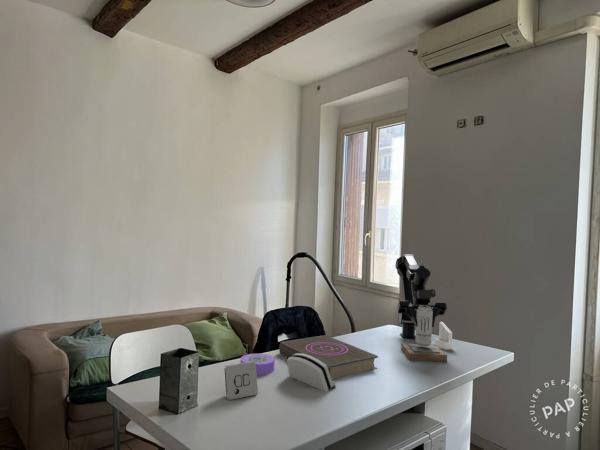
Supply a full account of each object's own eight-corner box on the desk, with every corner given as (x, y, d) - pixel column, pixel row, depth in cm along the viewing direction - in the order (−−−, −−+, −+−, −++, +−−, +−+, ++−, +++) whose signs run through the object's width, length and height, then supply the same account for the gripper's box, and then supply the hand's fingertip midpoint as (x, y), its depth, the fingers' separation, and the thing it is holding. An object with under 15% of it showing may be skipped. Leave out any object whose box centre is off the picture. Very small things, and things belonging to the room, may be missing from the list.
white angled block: (434, 336, 188) (442, 321, 184) (448, 353, 180) (457, 338, 176) (428, 337, 186) (436, 322, 182) (442, 354, 178) (450, 339, 174)
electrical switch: (228, 401, 120) (228, 367, 121) (221, 396, 125) (221, 363, 125) (258, 395, 125) (258, 363, 126) (251, 390, 129) (251, 359, 130)
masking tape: (263, 361, 155) (263, 351, 155) (280, 371, 145) (281, 360, 145) (234, 367, 148) (234, 356, 148) (250, 378, 139) (251, 366, 139)
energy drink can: (416, 346, 166) (417, 307, 166) (414, 341, 172) (416, 304, 172) (432, 347, 165) (434, 308, 165) (429, 342, 171) (431, 305, 171)
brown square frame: (401, 349, 176) (401, 341, 176) (435, 350, 175) (435, 343, 175) (409, 360, 162) (410, 352, 162) (446, 361, 161) (447, 353, 161)
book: (377, 369, 151) (377, 355, 151) (327, 381, 139) (327, 366, 139) (325, 347, 177) (325, 334, 177) (279, 355, 165) (279, 342, 164)
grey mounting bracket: (337, 387, 133) (330, 359, 130) (327, 396, 130) (320, 368, 127) (299, 372, 145) (293, 346, 142) (289, 380, 142) (283, 354, 139)
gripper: (399, 280, 172) (404, 314, 162) (446, 282, 172) (454, 316, 161) (395, 296, 181) (399, 329, 170) (440, 298, 180) (447, 331, 169)
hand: (424, 326), depth 167 cm, fingers closed on energy drink can, 6 cm apart
